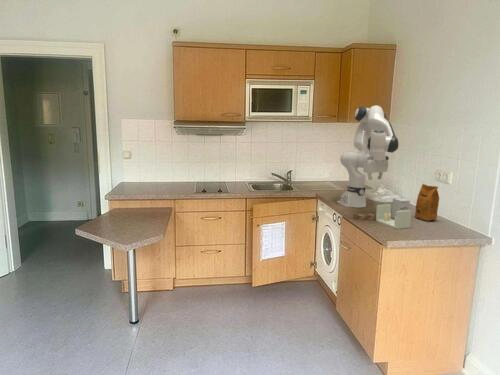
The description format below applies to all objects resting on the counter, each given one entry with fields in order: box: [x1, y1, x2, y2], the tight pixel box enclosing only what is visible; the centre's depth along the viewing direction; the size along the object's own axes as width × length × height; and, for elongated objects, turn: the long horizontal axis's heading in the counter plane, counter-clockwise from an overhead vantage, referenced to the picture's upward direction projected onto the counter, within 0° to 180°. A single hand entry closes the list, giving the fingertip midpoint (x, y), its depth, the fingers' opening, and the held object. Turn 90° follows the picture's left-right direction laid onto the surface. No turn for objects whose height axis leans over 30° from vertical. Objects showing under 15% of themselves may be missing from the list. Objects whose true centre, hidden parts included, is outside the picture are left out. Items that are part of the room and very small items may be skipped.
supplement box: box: [391, 198, 411, 220], centre depth 226 cm, size 7×7×13 cm
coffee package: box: [414, 183, 440, 222], centre depth 227 cm, size 10×12×22 cm
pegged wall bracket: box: [374, 203, 412, 230], centre depth 213 cm, size 18×10×10 cm, turn 21°
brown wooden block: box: [353, 213, 376, 221], centre depth 223 cm, size 14×5×4 cm, turn 97°
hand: (374, 179), depth 220 cm, fingers open, 8 cm apart
